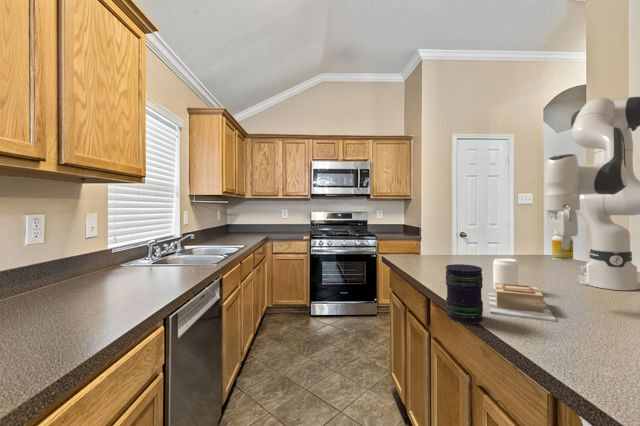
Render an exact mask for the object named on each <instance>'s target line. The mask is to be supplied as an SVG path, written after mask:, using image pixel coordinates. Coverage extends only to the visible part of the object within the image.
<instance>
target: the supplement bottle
mask: <svg viewBox="0 0 640 426" xmlns="http://www.w3.org/2000/svg"><path fill="white" fill-rule="evenodd" d="M553 233H554V236H552V237H551V256H552V257H551V258H552V260H554V261H560V262H572V261H573V260H574V239H573V236H571V240H570V244H569V249H568V250H564V249H562V248H561V243H562V238H561V235H560V234H557V233H556V230H554V232H553Z"/></svg>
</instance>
